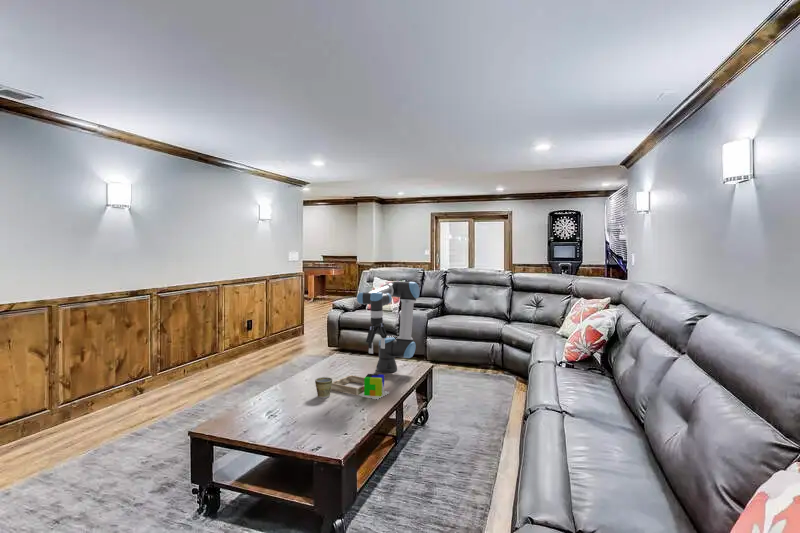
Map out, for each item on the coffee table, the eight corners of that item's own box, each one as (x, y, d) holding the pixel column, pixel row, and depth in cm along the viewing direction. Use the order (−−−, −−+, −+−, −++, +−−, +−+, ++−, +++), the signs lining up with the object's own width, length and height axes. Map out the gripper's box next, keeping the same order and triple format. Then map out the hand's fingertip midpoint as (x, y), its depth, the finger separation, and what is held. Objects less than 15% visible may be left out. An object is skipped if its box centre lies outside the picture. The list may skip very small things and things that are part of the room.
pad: (371, 389, 267) (371, 388, 267) (389, 393, 261) (389, 391, 261) (359, 395, 256) (359, 394, 256) (377, 399, 249) (377, 398, 249)
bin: (350, 381, 285) (350, 375, 285) (377, 386, 275) (377, 380, 275) (330, 389, 267) (330, 383, 267) (357, 395, 257) (357, 388, 256)
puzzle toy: (384, 390, 263) (384, 374, 262) (380, 396, 253) (381, 379, 252) (367, 389, 264) (368, 373, 264) (364, 395, 254) (364, 378, 254)
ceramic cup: (328, 399, 249) (328, 382, 248) (312, 398, 251) (312, 381, 250) (336, 392, 261) (336, 376, 261) (320, 391, 263) (320, 375, 263)
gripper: (382, 313, 281) (382, 345, 282) (360, 319, 259) (360, 354, 261) (392, 314, 277) (392, 347, 278) (370, 321, 255) (370, 356, 257)
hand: (376, 350), depth 269 cm, fingers open, 13 cm apart
